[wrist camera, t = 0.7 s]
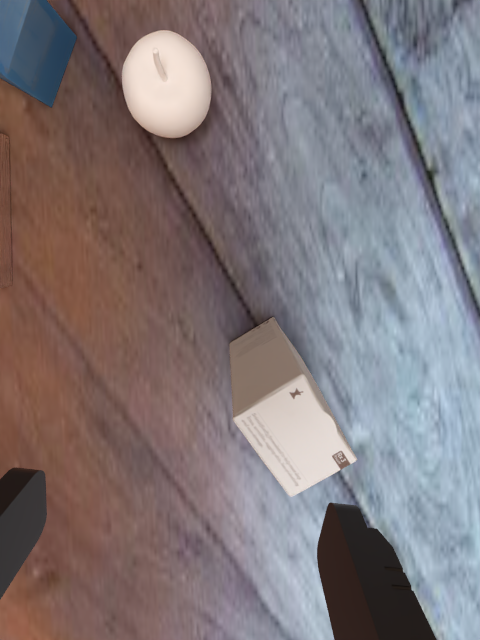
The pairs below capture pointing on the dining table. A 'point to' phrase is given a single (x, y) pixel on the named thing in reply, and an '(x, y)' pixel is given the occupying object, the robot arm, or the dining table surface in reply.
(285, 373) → the skincare box
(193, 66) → the plain white apple
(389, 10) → the dining table surface
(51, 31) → the perfume bottle
